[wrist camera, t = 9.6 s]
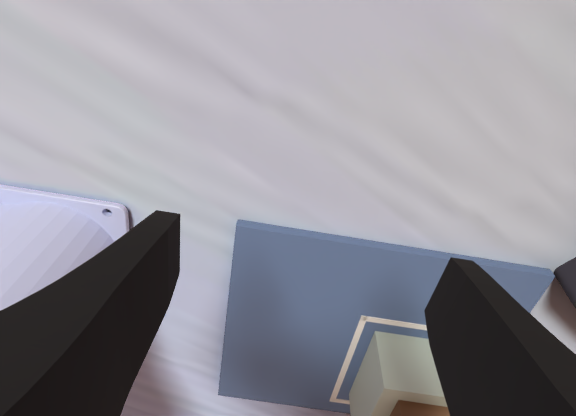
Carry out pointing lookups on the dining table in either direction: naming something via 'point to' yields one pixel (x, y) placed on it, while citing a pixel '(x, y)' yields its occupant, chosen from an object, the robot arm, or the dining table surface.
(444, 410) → the walnut block
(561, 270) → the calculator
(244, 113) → the dining table surface
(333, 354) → the board
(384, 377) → the sage base block
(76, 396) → the robot arm
